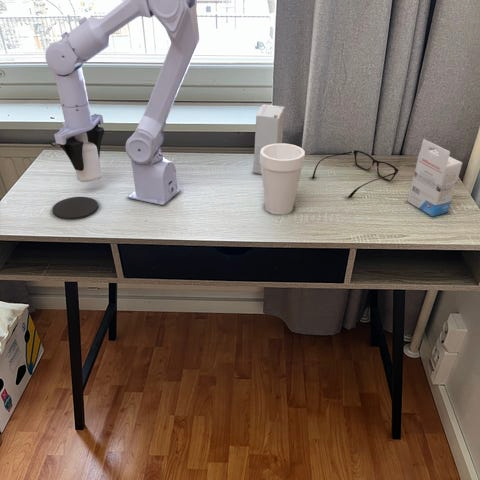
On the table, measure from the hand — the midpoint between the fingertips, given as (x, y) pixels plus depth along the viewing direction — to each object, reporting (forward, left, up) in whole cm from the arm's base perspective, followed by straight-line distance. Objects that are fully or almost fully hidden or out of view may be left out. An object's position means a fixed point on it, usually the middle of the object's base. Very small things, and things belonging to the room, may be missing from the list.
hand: (87, 164), depth 116 cm
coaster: (-2, +9, -7) cm, 11 cm away
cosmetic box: (-34, -29, -7) cm, 45 cm away
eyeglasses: (-56, -31, -7) cm, 64 cm away
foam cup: (-44, -10, -7) cm, 46 cm away
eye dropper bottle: (0, 0, -4) cm, 4 cm away
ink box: (-75, -24, -7) cm, 79 cm away
